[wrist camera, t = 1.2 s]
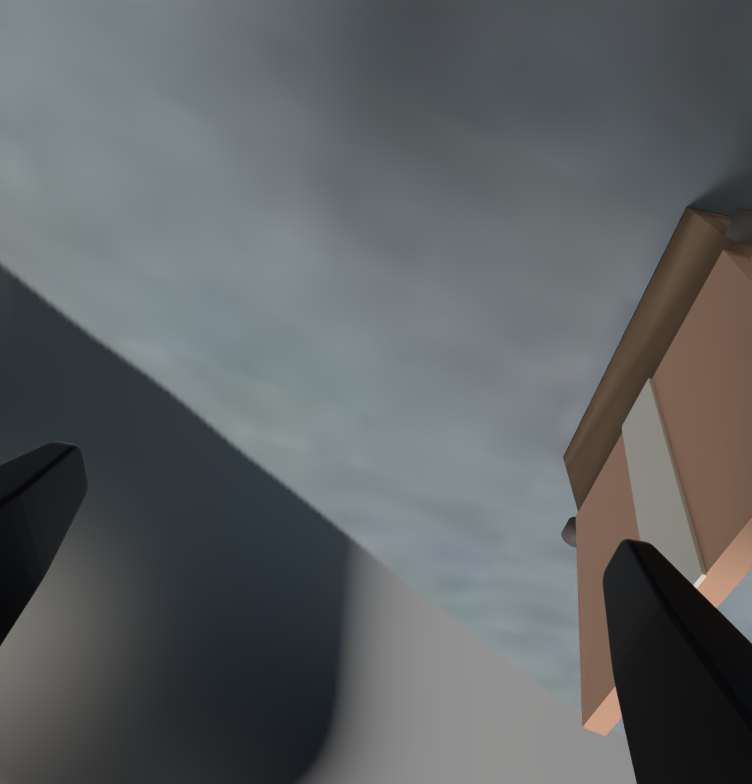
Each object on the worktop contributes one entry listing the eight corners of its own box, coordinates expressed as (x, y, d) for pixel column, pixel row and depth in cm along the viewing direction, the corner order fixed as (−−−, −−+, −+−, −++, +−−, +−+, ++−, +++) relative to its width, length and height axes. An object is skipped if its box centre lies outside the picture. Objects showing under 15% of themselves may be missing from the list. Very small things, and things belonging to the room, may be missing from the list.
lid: (891, 411, 8) (843, 397, 9) (605, 737, 14) (578, 727, 14) (745, 254, 15) (719, 248, 15) (591, 521, 21) (573, 515, 21)
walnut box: (940, 234, 18) (1066, 286, 14) (729, 509, 25) (778, 590, 21) (685, 177, 18) (747, 215, 14) (546, 469, 25) (563, 544, 21)
